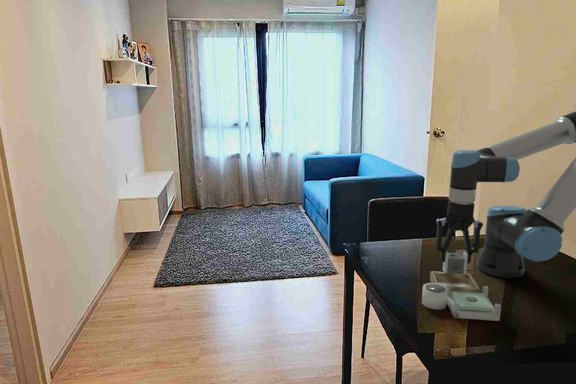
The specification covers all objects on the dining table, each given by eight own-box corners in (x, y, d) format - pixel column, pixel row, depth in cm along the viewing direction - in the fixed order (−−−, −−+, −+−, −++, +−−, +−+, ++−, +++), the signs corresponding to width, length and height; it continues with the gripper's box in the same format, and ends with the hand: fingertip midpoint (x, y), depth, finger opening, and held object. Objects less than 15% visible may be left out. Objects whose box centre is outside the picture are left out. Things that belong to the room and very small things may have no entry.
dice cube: (443, 266, 135) (444, 252, 134) (458, 267, 134) (460, 253, 133) (446, 273, 130) (448, 258, 129) (463, 273, 129) (464, 259, 128)
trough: (468, 282, 137) (469, 273, 136) (478, 298, 126) (479, 289, 125) (429, 279, 138) (430, 271, 138) (436, 295, 128) (437, 286, 127)
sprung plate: (482, 296, 123) (483, 292, 123) (492, 311, 114) (493, 307, 114) (451, 294, 124) (451, 290, 124) (458, 309, 116) (459, 305, 115)
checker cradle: (485, 300, 125) (487, 286, 124) (499, 320, 113) (501, 306, 112) (444, 297, 126) (445, 283, 125) (453, 317, 115) (455, 303, 114)
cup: (443, 298, 126) (444, 283, 124) (448, 310, 119) (450, 294, 118) (419, 297, 127) (421, 282, 125) (423, 308, 120) (425, 292, 119)
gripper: (488, 199, 128) (480, 268, 133) (428, 197, 130) (422, 265, 136) (496, 205, 120) (487, 278, 126) (433, 203, 123) (426, 274, 128)
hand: (454, 271), depth 131 cm, fingers closed on dice cube, 5 cm apart
